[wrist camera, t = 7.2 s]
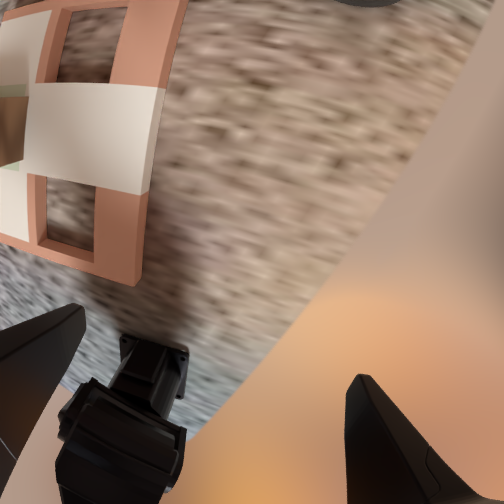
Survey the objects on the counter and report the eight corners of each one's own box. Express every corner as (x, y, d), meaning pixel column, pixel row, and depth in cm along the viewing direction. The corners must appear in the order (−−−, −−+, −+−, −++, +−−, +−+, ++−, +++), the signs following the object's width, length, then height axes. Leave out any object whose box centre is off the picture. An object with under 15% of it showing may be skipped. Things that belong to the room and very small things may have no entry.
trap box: (141, 277, 24) (122, 301, 21) (-4, 231, 24) (-27, 244, 20) (190, -6, 15) (174, -25, 12) (15, 13, 15) (-11, 9, 12)
